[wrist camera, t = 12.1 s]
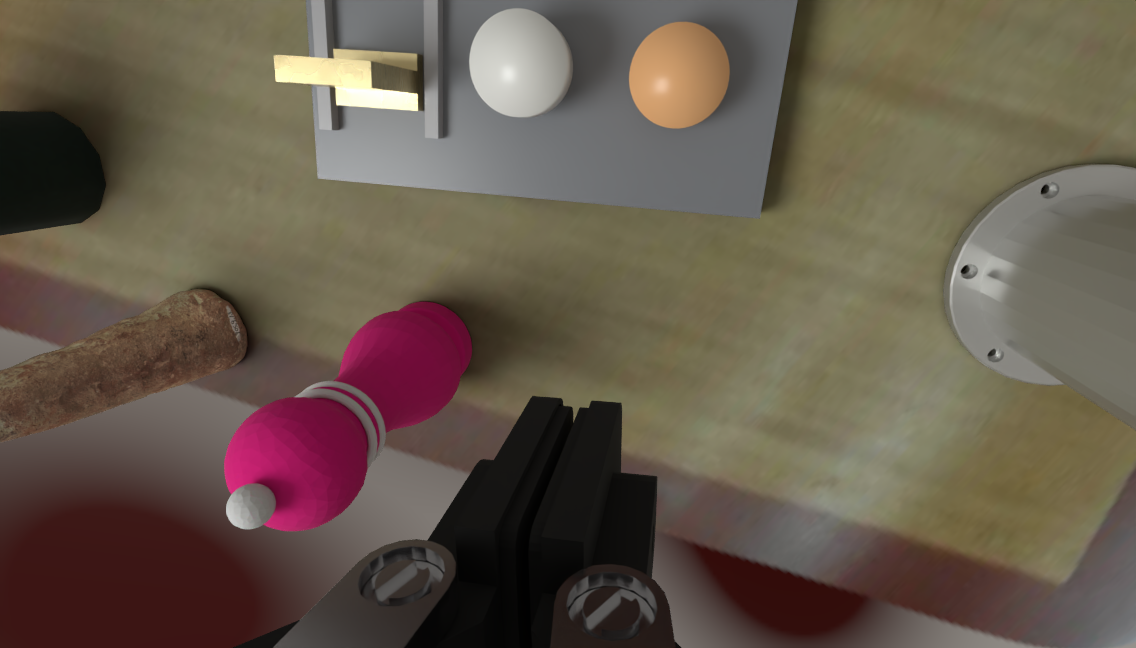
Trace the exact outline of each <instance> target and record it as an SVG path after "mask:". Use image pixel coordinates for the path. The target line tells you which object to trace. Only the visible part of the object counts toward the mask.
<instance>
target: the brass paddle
mask: <svg viewBox="0 0 1136 648" xmlns="http://www.w3.org/2000/svg"><path fill="white" fill-rule="evenodd" d="M333 53H334V59H332V58H316V57H300V56H284V55H274V64H275V75H276V82H285V83H294V84H303V85H311V86H320V87H329V88H335V89H336V105H346V106H360V107H374V108H387V109H401V110H415V111H423V55H420V54H414V53H397V52H381V51H364V50H347V49H333Z"/></svg>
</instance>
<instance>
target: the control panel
mask: <svg viewBox="0 0 1136 648" xmlns="http://www.w3.org/2000/svg"><path fill="white" fill-rule="evenodd" d="M797 1H798V0H306V10H307V25H308V39H309V54H310V57H316V58H332V59H334V53H333V49H347V50H364V51H381V52H397V53H414V54H420V55H423V111H415V110H401V109H387V108H374V107H360V106H346V105H336V89H335V88H329V87H320V86H312V98H313V113H314V128H315V143H316V157H317V172H318V179H329V180H340V181H351V182H362V183H373V184H384V185H395V186H406V187H417V188H428V189H439V190H450V191H461V192H472V193H483V194H494V195H505V196H516V197H527V198H538V199H549V200H560V201H571V202H582V203H593V204H604V205H615V206H626V207H637V208H648V209H659V210H670V211H681V212H692V213H703V214H714V215H725V216H736V217H747V218H758V219H760V214H761V208H762V202H763V197H764V191H765V185H766V179H767V174H768V168H769V162H770V156H771V151H772V145H773V139H774V133H775V128H776V122H777V116H778V110H779V105H780V99H781V93H782V87H783V82H784V76H785V70H786V64H787V59H788V53H789V47H790V41H791V36H792V30H793V24H794V19H795V13H796V7H797ZM513 8H522V9H528V10H531V11H534V12H536V13H538V14H540V15H542V16H543V17H545V18H546V19H547V20H548V21H550V22H551V23H552V24H553V25H554V26H555V27H556V28H557V29H558V30H559V31H560V32H561V33H562V34H563V36H564V37H565V39H566V41H567V43H568V45H569V48H570V50H571V54H572V60H573V74H572V80H571V84H570V86H569V89H568V91H567V93H566V95H565V97H564V98H563V99H562V101H561V102H560V103H559V104H558V105H557V106H556V107H555V108H554V109H552V110H551V111H549V112H548V113H546V114H543V115H541V116H537V117H531V118H522V117H511V116H507V115H504V114H501V113H499V112H497V111H495V110H494V109H492V108H491V107H490V106H488V105H487V104H486V103H485V102H484V101H483V100H482V98H481V97H480V95H479V94H478V92H477V90H476V89H475V86H474V84H473V82H472V78H471V74H470V67H469V58H470V50H471V46H472V43H473V40H474V38H475V36H476V34H477V32H478V30H479V29H480V27H481V26H482V25H483V24H484V23H485V22H486V21H487V20H488V19H489V18H490V17H492V16H493V15H495V14H497V13H499V12H501V11H504V10H507V9H513ZM674 22H692V23H696V24H699V25H701V26H703V27H705V28H707V29H708V30H710V31H711V32H712V33H714V34H715V35H716V36H717V38H718V39H719V40H720V41H721V43H722V45H723V46H724V48H725V51H726V53H727V56H728V60H729V68H730V75H729V82H728V87H727V90H726V93H725V95H724V97H723V99H722V101H721V103H720V104H719V106H718V107H717V108H716V109H715V111H714V112H713V113H712V114H711V115H710V116H708V117H707V118H706V119H704V120H703V121H701V122H699V123H698V124H695V125H693V126H690V127H686V128H679V129H678V128H666V127H662V126H659V125H657V124H655V123H653V122H652V121H650V120H648V119H647V118H646V117H645V116H644V115H643V114H642V113H641V112H640V111H639V109H638V108H637V106H636V104H635V102H634V100H633V98H632V95H631V91H630V85H629V72H630V66H631V63H632V59H633V57H634V54H635V52H636V51H637V49H638V47H639V46H640V44H641V43H642V42H643V40H644V39H645V38H646V37H647V36H648V35H650V34H651V33H652V32H653V31H655V30H656V29H658V28H660V27H662V26H664V25H667V24H670V23H674Z"/></svg>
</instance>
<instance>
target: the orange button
mask: <svg viewBox="0 0 1136 648" xmlns="http://www.w3.org/2000/svg"><path fill="white" fill-rule="evenodd" d="M729 75H730V68H729V60H728V56H727V53H726V51H725V48H724V46H723V45H722V43H721V41H720V40H719V39H718V38H717V36H716V35H715V34H714V33H712V32H711V31H710V30H708V29H707V28H705V27H703V26H701V25H699V24H696V23H692V22H674V23H670V24H667V25H664V26H662V27H660V28H658V29H656V30H655V31H653V32H652V33H651V34H650V35H648V36H647V37H646V38H645V39H644V40H643V42H642V43H641V44H640V46H639V47H638V49H637V51H636V52H635V54H634V57H633V59H632V63H631V66H630V72H629V85H630V91H631V95H632V98H633V100H634V102H635V104H636V106H637V108H638V109H639V111H640V112H641V113H642V114H643V115H644V116H645V117H646V118H647V119H648V120H650V121H652V122H653V123H655V124H657V125H659V126H662V127H666V128H678V129H679V128H686V127H690V126H693V125H695V124H698V123H699V122H701V121H703V120H704V119H706V118H707V117H708V116H710V115H711V114H712V113H713V112H714V111H715V109H716V108H717V107H718V106H719V104H720V103H721V101H722V99H723V97H724V95H725V93H726V90H727V87H728V82H729Z"/></svg>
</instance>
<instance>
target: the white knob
mask: <svg viewBox="0 0 1136 648" xmlns="http://www.w3.org/2000/svg"><path fill="white" fill-rule="evenodd" d="M469 67H470V74H471V78H472V82H473V84H474V86H475V89H476V90H477V92H478V94H479V95H480V97H481V98H482V100H483V101H484V102H485V103H486V104H487V105H488V106H490V107H491V108H492V109H494V110H495V111H497V112H499V113H501V114H504V115H507V116H511V117H522V118H531V117H537V116H541V115H543V114H546V113H548V112H549V111H551V110H552V109H554V108H555V107H556V106H557V105H558V104H559V103H560V102H561V101H562V99H563V98H564V97H565V95H566V93H567V91H568V89H569V86H570V84H571V80H572V74H573V60H572V54H571V50H570V48H569V45H568V43H567V41H566V39H565V37H564V36H563V34H562V33H561V32H560V31H559V30H558V29H557V28H556V27H555V26H554V25H553V24H552V23H551V22H550V21H548V20H547V19H546V18H545V17H543V16H542V15H540V14H538V13H536V12H534V11H531V10H528V9H522V8H513V9H507V10H504V11H501V12H499V13H497V14H495V15H493V16H492V17H490V18H489V19H488V20H487V21H486V22H485V23H484V24H483V25H482V26H481V27H480V29H479V30H478V32H477V34H476V36H475V38H474V40H473V43H472V46H471V50H470V58H469Z"/></svg>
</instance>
